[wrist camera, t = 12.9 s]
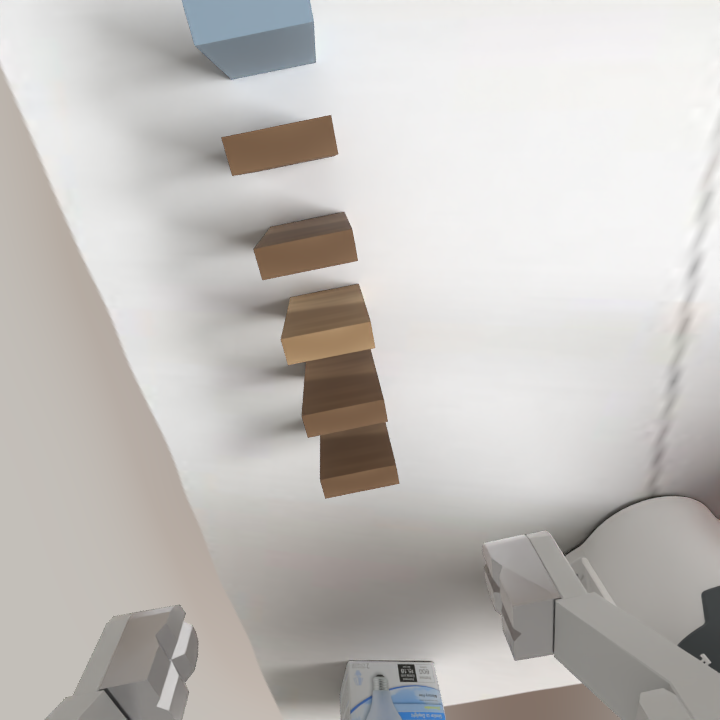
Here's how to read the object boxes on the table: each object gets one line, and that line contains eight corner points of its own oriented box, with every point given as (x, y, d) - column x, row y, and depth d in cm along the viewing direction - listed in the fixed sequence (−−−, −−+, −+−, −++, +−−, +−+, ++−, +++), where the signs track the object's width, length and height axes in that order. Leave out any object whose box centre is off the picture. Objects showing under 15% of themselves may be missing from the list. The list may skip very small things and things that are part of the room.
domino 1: (315, 62, 25) (313, 21, 18) (231, 79, 25) (195, 46, 18) (309, 28, 24) (304, -29, 17) (222, 46, 24) (181, -3, 17)
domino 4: (362, 304, 31) (375, 347, 24) (295, 318, 31) (287, 365, 24) (358, 283, 30) (370, 321, 23) (290, 297, 30) (280, 339, 23)
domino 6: (383, 418, 35) (399, 483, 28) (324, 429, 35) (325, 498, 28) (380, 401, 35) (395, 464, 28) (320, 413, 35) (319, 480, 28)
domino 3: (348, 236, 29) (358, 260, 22) (277, 250, 29) (262, 280, 22) (344, 211, 28) (352, 229, 21) (270, 226, 28) (253, 249, 21)
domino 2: (333, 156, 27) (338, 154, 20) (256, 171, 27) (232, 175, 20) (328, 127, 26) (330, 114, 19) (248, 144, 26) (221, 137, 19)
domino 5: (373, 365, 33) (387, 421, 26) (310, 377, 33) (307, 437, 26) (369, 346, 33) (383, 399, 25) (305, 359, 33) (301, 416, 25)
